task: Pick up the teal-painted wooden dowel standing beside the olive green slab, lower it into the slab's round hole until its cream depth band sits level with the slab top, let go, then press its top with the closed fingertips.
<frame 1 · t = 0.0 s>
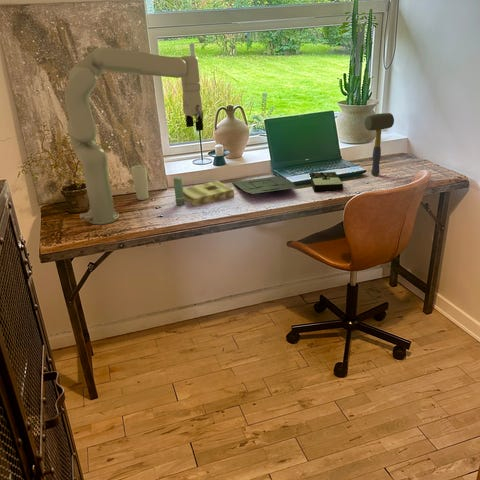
hand: (194, 128, 206), 31 cm above the table, fingers open, 9 cm apart
olive green slab: (206, 196, 219), on the table
dowel: (180, 204, 211), on the table
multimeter: (325, 186, 226), on the table
rubber mallet: (375, 175, 235), on the table
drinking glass: (143, 198, 221), on the table
dark green panel: (264, 189, 225), on the table
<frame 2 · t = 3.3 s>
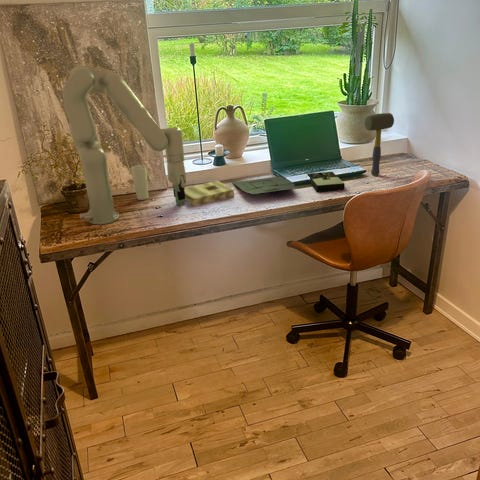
hand: (179, 197, 210), 3 cm above the table, fingers closed on dowel, 3 cm apart
dowel: (180, 204, 211), on the table, touching gripper
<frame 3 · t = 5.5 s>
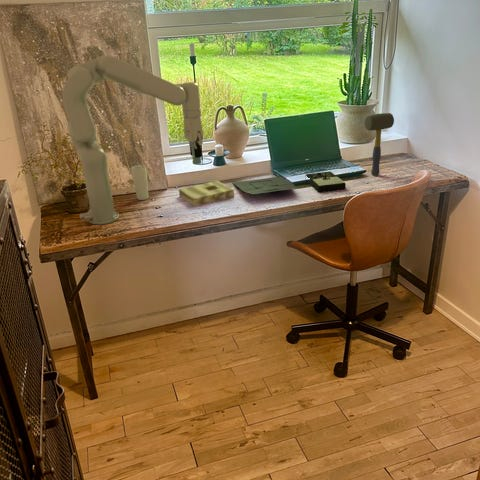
hand: (196, 155, 208), 20 cm above the table, fingers closed on dowel, 3 cm apart
dowel: (197, 162, 209), point 17 cm above the table, touching gripper
when the fingers open (5 cm above the table, at t = 8.1 s): dowel drops 1 cm, resting in olive green slab.
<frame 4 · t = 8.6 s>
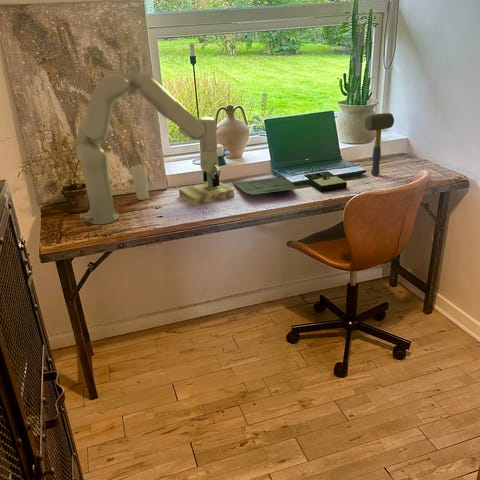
hand: (211, 183, 218), 6 cm above the table, fingers open, 8 cm apart
dowel: (212, 195, 220), resting in olive green slab
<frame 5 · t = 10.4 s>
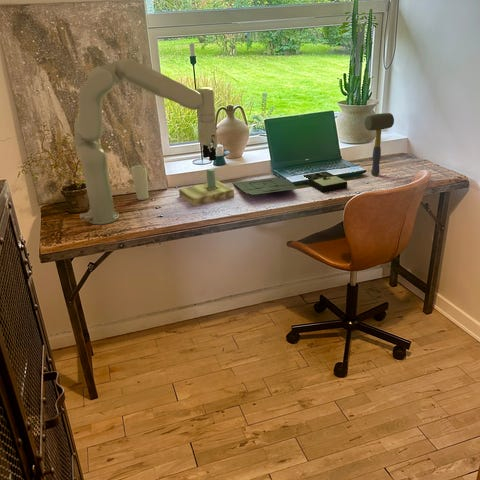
hand: (209, 158, 213), 17 cm above the table, fingers open, 5 cm apart
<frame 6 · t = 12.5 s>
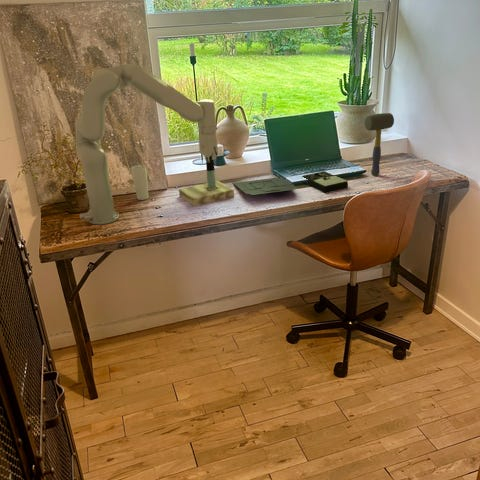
hand: (210, 170, 215), 12 cm above the table, fingers closed
dowel: (212, 195, 220), resting in olive green slab, touching gripper
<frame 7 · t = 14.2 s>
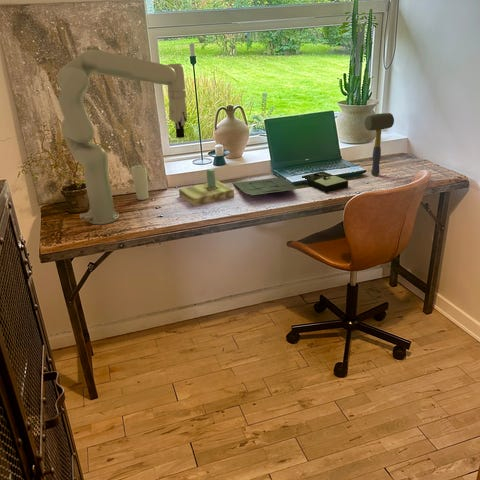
hand: (180, 137, 211), 27 cm above the table, fingers closed
dowel: (212, 195, 220), resting in olive green slab
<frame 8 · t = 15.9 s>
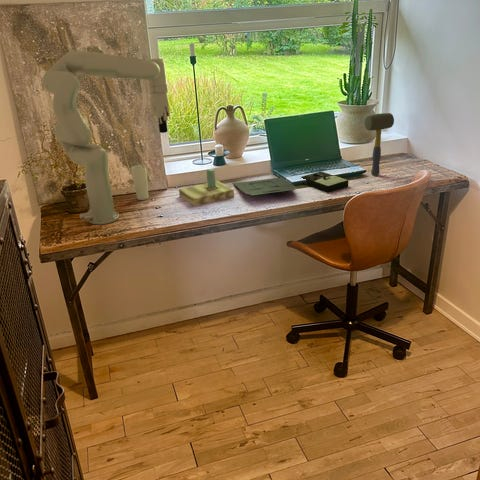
hand: (163, 132, 212), 29 cm above the table, fingers closed
at the end: dowel 0.1 cm from the target spot on the olive green slab, point 0.0 cm above the olive green slab's base; dowel tilted 0°; the gripper is holding nothing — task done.
